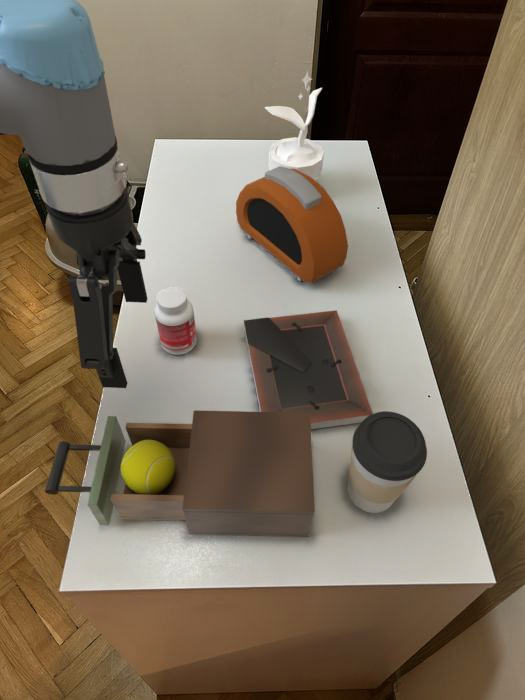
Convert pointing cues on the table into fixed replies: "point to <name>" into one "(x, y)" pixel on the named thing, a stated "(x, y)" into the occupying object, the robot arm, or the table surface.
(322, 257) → the alarm clock
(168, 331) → the pill bottle
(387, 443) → the coffee cup
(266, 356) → the picture frame
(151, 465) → the tennis ball
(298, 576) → the table surface
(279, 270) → the table surface
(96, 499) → the drawer
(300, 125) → the potted plant
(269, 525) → the cabinet
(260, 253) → the table surface
